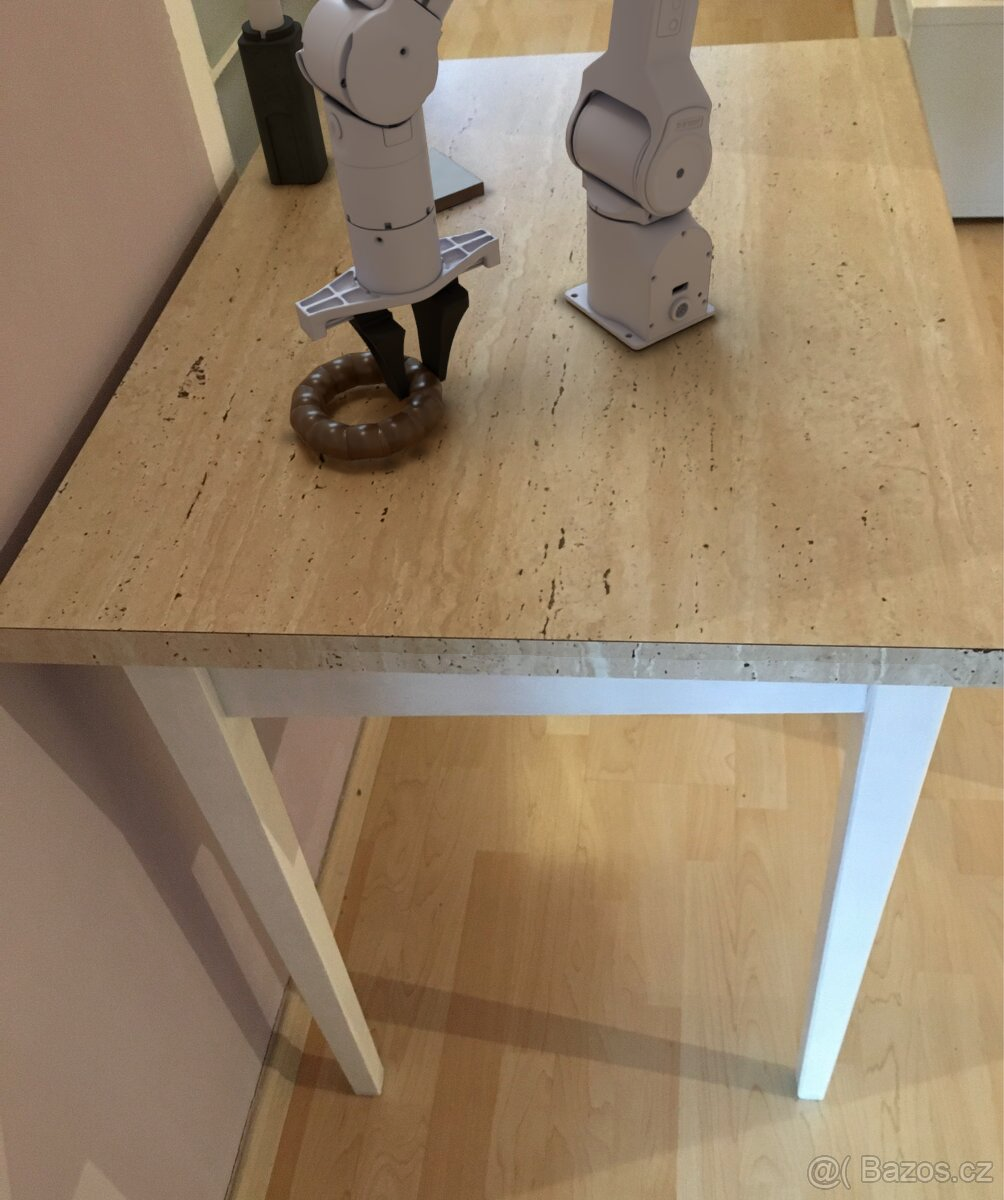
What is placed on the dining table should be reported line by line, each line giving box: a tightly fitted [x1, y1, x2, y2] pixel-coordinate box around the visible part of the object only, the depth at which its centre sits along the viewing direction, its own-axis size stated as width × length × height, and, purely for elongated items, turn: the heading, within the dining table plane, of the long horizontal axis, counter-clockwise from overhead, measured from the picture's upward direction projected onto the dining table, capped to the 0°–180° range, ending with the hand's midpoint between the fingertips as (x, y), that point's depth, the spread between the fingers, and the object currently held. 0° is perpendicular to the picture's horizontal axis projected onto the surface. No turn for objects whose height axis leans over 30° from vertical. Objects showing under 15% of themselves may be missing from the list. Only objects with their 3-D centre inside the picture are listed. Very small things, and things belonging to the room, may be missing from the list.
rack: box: [428, 147, 485, 213], centre depth 96 cm, size 9×9×5 cm
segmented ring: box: [289, 350, 444, 462], centre depth 75 cm, size 11×11×2 cm
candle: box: [236, 0, 329, 186], centre depth 93 cm, size 5×5×25 cm
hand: (417, 383), depth 76 cm, fingers closed on segmented ring, 2 cm apart
